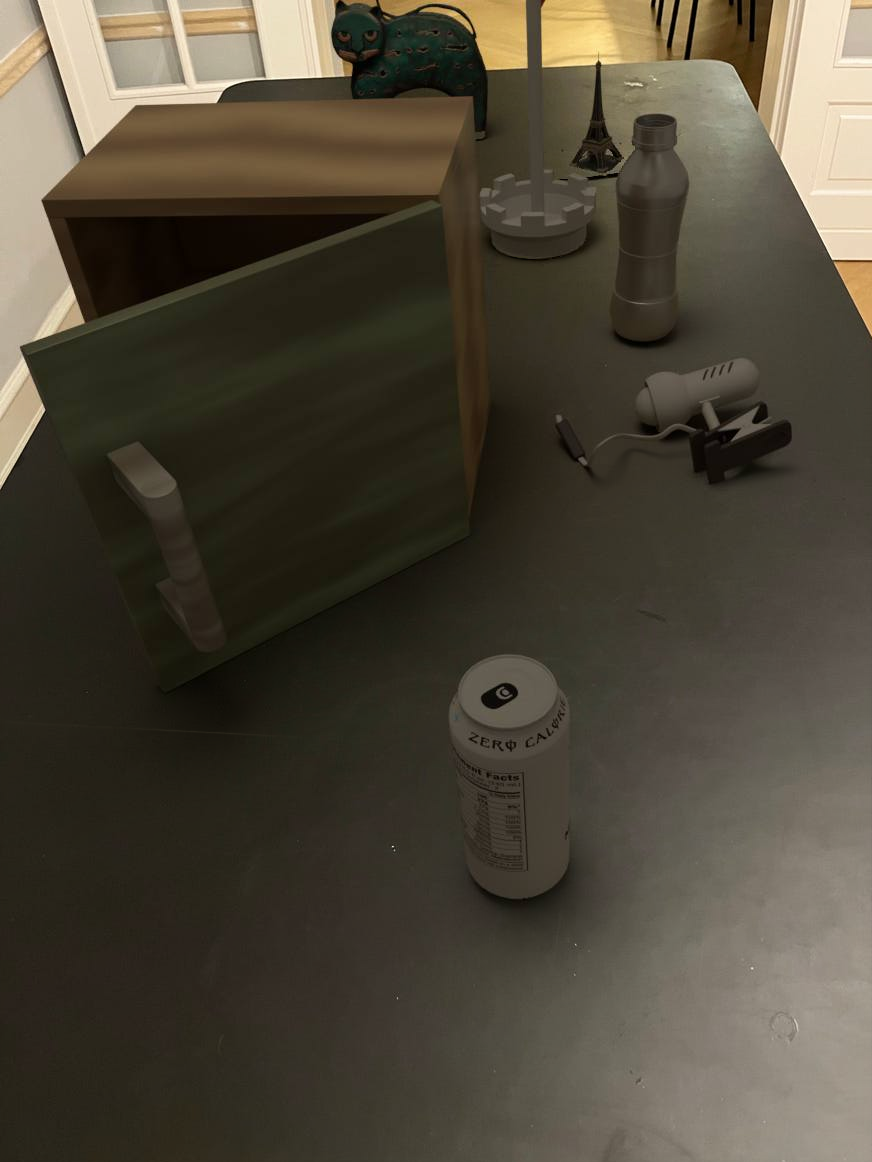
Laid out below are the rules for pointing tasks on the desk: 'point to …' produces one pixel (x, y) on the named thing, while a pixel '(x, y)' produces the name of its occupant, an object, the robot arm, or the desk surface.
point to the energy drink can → (512, 774)
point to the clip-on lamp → (702, 392)
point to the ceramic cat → (410, 54)
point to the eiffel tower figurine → (597, 138)
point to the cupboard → (274, 204)
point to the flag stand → (537, 182)
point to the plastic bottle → (649, 231)
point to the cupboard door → (266, 437)
